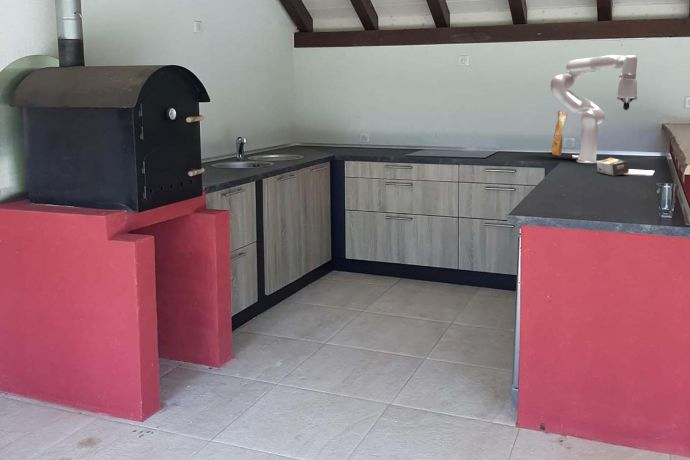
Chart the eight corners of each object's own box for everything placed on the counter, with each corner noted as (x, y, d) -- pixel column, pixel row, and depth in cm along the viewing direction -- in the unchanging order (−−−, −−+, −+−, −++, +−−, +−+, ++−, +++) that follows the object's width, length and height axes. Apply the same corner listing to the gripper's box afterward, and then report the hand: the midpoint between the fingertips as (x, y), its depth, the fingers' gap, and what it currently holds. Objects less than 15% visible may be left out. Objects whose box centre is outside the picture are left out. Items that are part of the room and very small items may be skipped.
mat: (612, 173, 395) (613, 172, 395) (616, 170, 409) (617, 168, 409) (651, 176, 386) (651, 174, 386) (654, 172, 400) (654, 170, 400)
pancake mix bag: (560, 152, 493) (562, 110, 487) (565, 155, 474) (568, 112, 468) (549, 152, 493) (552, 110, 487) (554, 155, 475) (557, 112, 469)
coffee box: (611, 157, 401) (628, 160, 385) (612, 168, 402) (629, 172, 387) (596, 161, 399) (612, 164, 384) (597, 172, 401) (614, 176, 385)
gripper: (614, 77, 418) (611, 109, 422) (642, 77, 411) (639, 110, 415) (615, 77, 425) (613, 109, 429) (643, 77, 418) (640, 110, 422)
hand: (626, 109), depth 422 cm, fingers closed
